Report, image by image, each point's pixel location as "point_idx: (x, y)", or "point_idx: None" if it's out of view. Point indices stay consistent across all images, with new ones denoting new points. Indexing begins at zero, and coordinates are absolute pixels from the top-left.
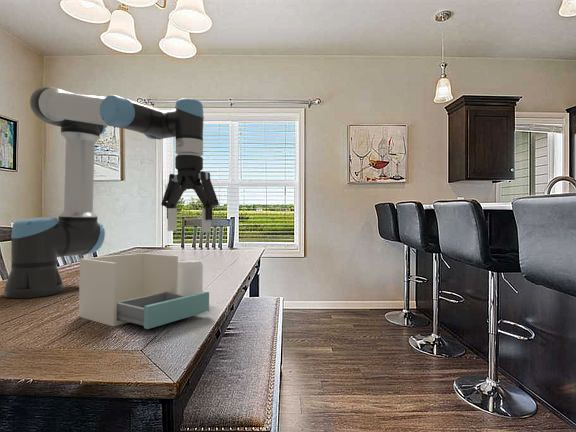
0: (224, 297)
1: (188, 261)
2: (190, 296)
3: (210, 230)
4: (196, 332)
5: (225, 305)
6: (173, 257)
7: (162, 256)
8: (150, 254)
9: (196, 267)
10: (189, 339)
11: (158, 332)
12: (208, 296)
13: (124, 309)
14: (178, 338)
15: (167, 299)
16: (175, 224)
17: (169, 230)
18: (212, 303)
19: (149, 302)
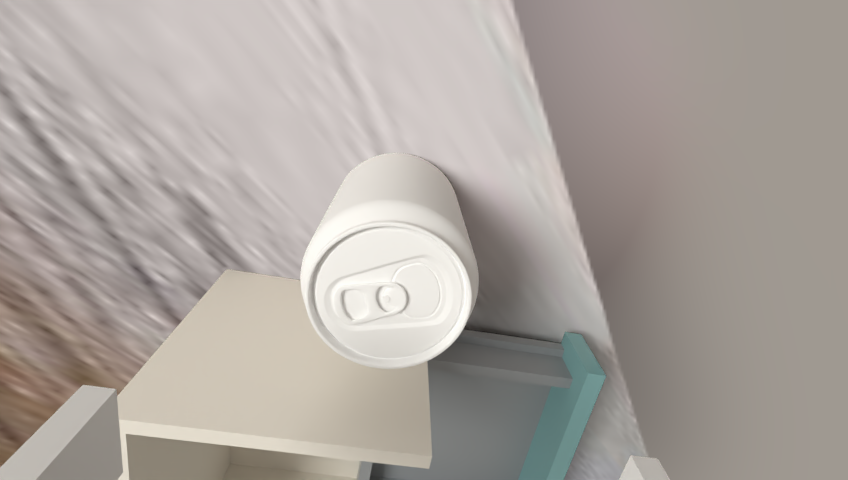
0: (484, 32)
1: (368, 269)
2: (575, 446)
3: (664, 475)
4: (610, 436)
5: (561, 173)
6: (410, 461)
7: (312, 448)
8: (195, 439)
9: (472, 310)
10: (618, 473)
11: None
12: (599, 368)
13: None
14: (590, 477)
15: None
16: (64, 470)
17: (119, 475)
18: (493, 166)
19: None
